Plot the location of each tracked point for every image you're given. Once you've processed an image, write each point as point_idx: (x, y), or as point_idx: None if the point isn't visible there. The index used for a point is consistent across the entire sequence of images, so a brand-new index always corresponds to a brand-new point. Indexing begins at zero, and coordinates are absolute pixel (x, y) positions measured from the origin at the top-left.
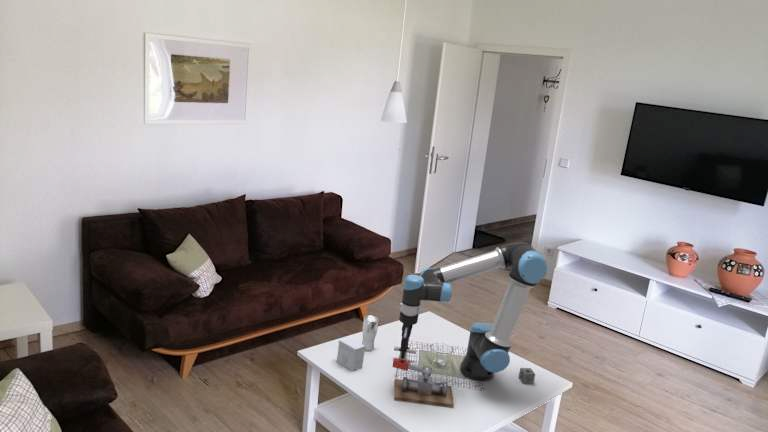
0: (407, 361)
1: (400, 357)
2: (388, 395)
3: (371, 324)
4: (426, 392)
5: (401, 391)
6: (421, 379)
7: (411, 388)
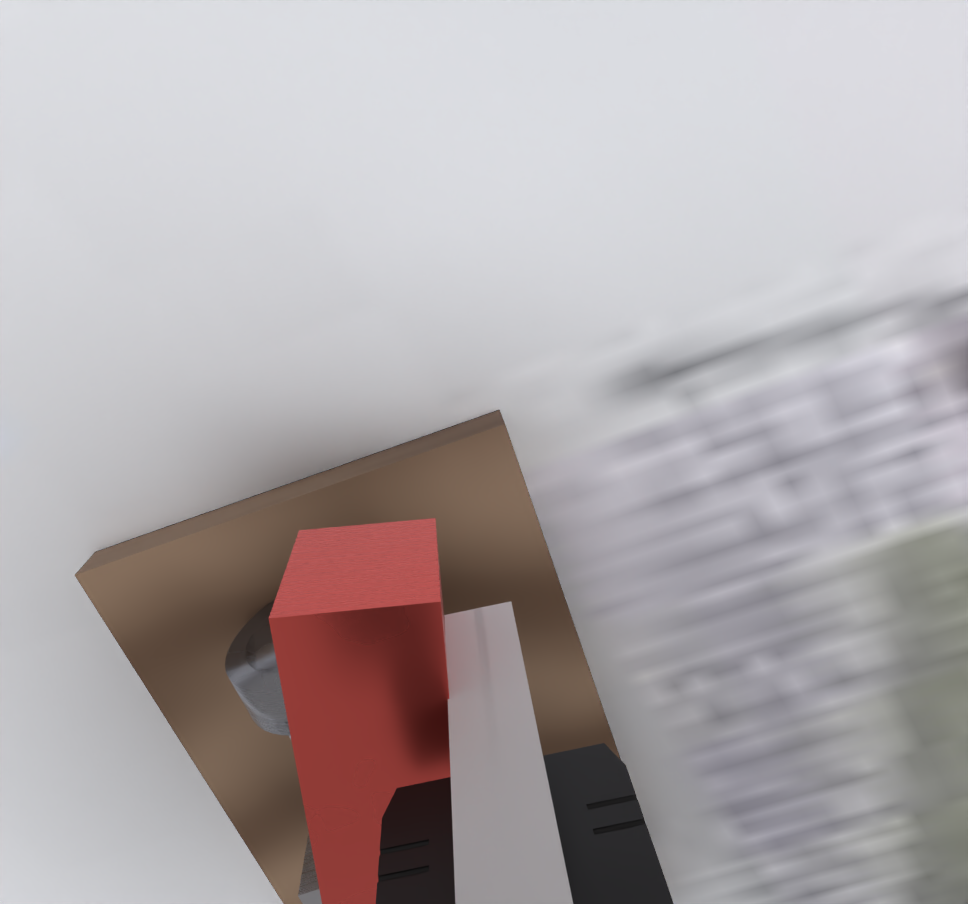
0: None
1: (457, 751)
2: (146, 459)
3: None
4: None
5: (255, 599)
6: None
7: None
